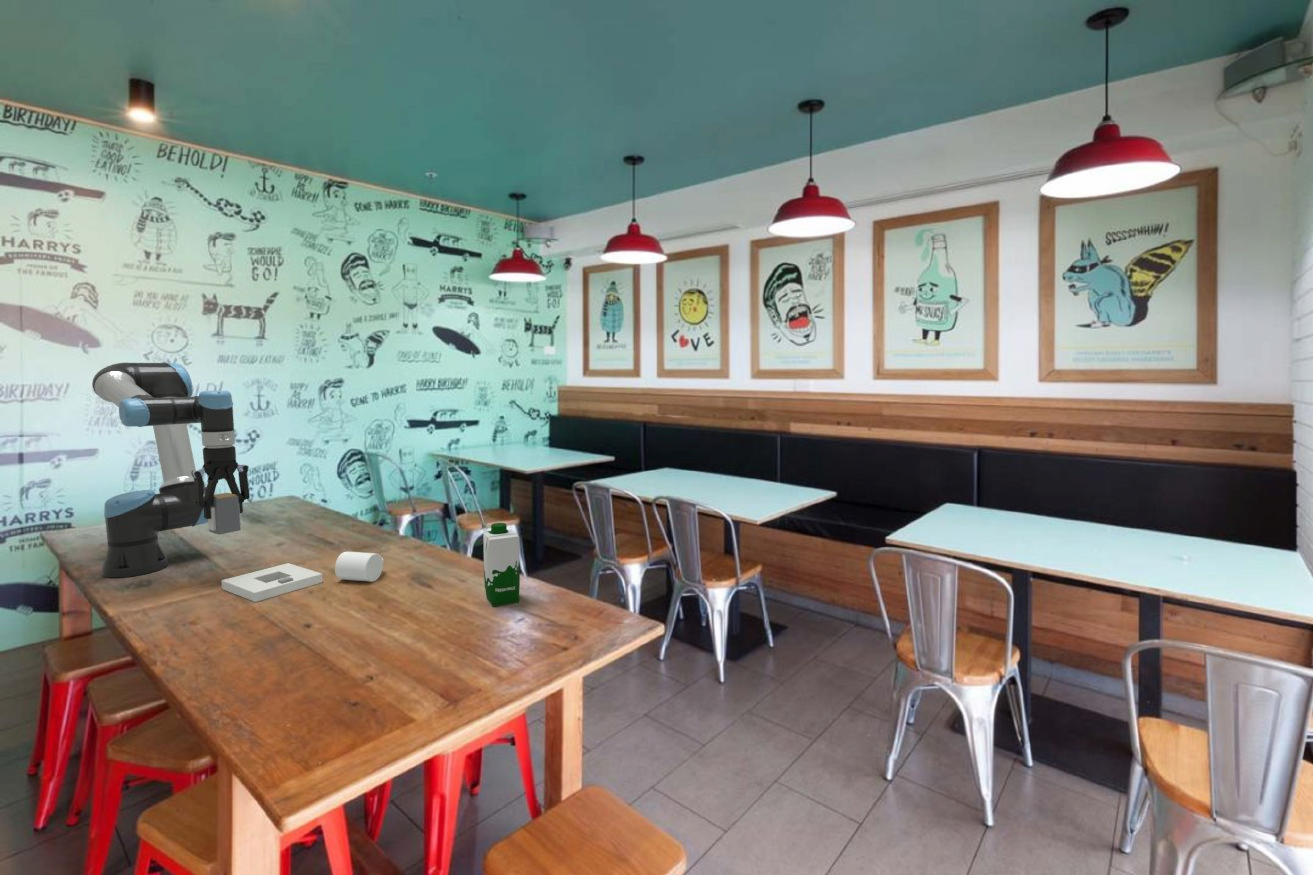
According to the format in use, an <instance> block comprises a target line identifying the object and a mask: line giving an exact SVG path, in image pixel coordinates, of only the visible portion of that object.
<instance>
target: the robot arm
mask: <svg viewBox="0 0 1313 875" xmlns="http://www.w3.org/2000/svg"><path fill="white" fill-rule="evenodd" d="M91 386H92V389H93V391H94V393H95V394H96V395H97V396H98V397H99V398H100V399H102V400H103V401H106V402H109V403H112V404H113V405H115V406H116V407H118V415H119V419H120V422H121V425H123V426H125V427H133V428H134V427H138V428H143V427H152V428H153V432H154V438H155V444H156V449H157V453H158V460H159V464H160V465H159V466H160V469H161V474H162V478H163V479H162V480H163V483H162V484H161V485H160V486H159V488H158V491H159V493H156V492H154V490H152V489H142V490H135V491H129V492H124V493H121V494H118V495H115V496H111V497H110V498H108V499H107V500H106V501H105V502H104V510H103V511H104V515H103V518H104V520H105V530H106V532H105V533H106V540H107V542H106V543H107V550H106V553H105V554H106V555H105V557H104V560H103V564H102V567H101V572H102V576H103V577H106V578H127V577H129V578H130V577H135V576H142V575H146V574H151V573H154V572H157V571H160V570H163V569H164V568H166V567H167V566H168V557H167V555H166V553H165V552H164V549H163V548H162V546H161V544H160V542H159V535H158V533H159V532H165V531H170V530H176V529H182V528H188V527H192V528H193V527H195V526H199V525H205V524H207V523H208V524H207V525H208V530H209V531H210V530H213V531H214V530H216V520H215V507H212V506H211V505H212V501H213V497H214V495H215V494H216V493H215V492H216V487H217V485H218V483H219V481H220V480H225V481H226V483H227V486H228V488H229V491H230V493H231V494H235V495H237V496H238V499H239V514H240V515H241V514H243V513H244V506H243V503H244V502H245V501H247V500H249V499H250V497H251V495H250V490H249V480H248V471H249V465H247V464H239V463H238V462H237V452H236V447H235V444H236V440H235V439H236V437H235V436H236V435H235V423H234V422H235V421H234V409H233V408H234V401H233V396H232V394H231V392H230V391H228V390H202V391H200V392H199V393H198V395H193V391H194V390H193V383H192V379H191V376H190V374H189V372H188V370H187V368H185V366H183V365H182V364H180V363H175V362H171V363H170V362H164V361H163V362H119V363H118V362H117V363H114V364H111V365H107V366H105V367H103V368H101V369H100V370H99V371H98V372H96V374H95V375H94V376H93V378H92V383H91ZM192 395H193V396H192ZM187 424H200V427H201V445H202V446H203V448H202V455H203V456H202V457H203V458H202V459H203V464H202V468H200V469H197V470H196V464H195V461H194V453H193V451H192V450H193V449H192V445H191V444H192V443H191V440H190V435H189V429H188V425H187ZM236 471H237V472H238V480H239V481H238V483H239V486H238V484H237V482H236V477H235V475H234V474H235V472H236ZM205 474H206V475H207V481H206V482H207V484H206V485H205V481H204V478H203V477H204V476H205ZM241 524H242V523H241V522H240V526H241Z"/></svg>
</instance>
